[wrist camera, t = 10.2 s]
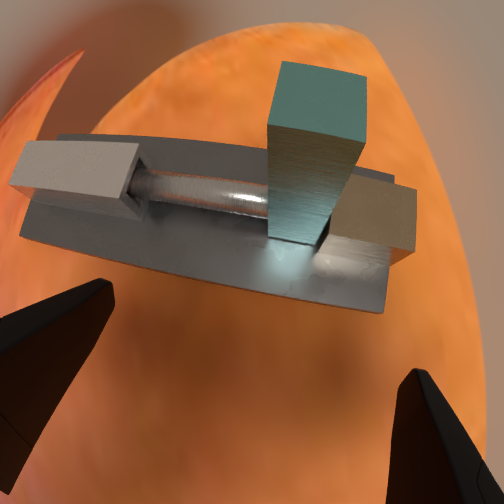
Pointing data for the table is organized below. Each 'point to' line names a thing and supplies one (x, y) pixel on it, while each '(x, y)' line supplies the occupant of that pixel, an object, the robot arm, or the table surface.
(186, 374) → the table surface
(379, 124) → the table surface
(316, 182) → the sliding bolt with handle
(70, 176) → the sleeve and socket
